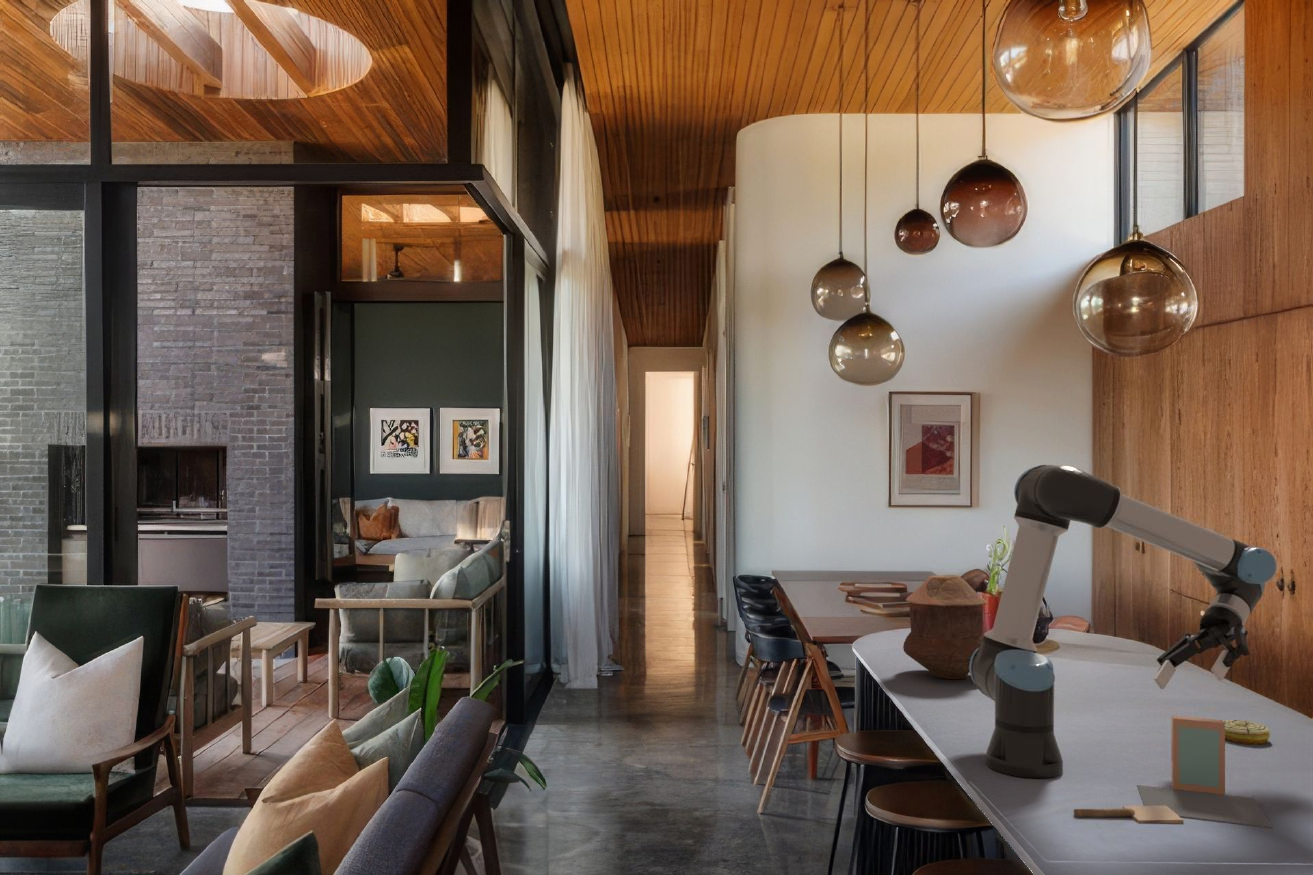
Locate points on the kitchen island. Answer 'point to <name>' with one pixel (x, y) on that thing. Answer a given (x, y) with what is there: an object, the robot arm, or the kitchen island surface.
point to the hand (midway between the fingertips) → (1186, 679)
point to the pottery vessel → (945, 626)
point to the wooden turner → (1135, 814)
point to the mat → (1206, 806)
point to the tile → (1198, 754)
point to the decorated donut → (1246, 732)
